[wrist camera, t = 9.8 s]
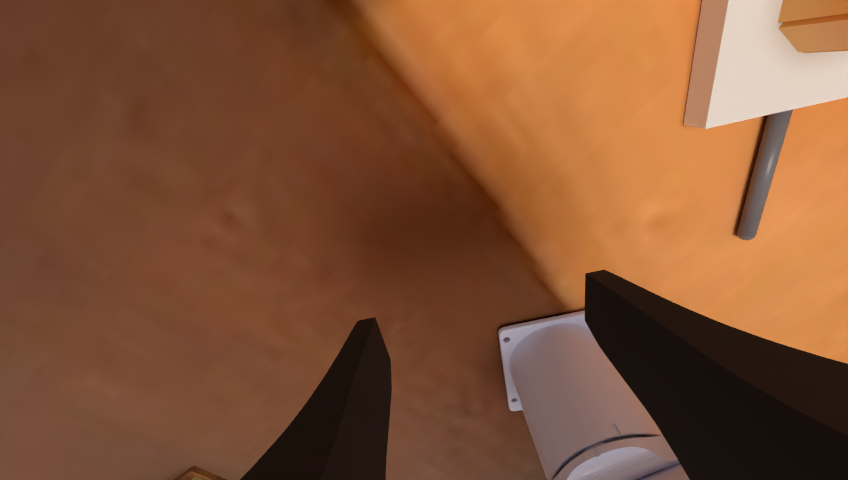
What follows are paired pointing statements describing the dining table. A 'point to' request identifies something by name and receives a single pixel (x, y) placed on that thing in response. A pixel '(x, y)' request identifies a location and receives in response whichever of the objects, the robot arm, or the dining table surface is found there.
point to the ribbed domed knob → (815, 24)
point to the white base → (756, 83)
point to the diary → (198, 475)
